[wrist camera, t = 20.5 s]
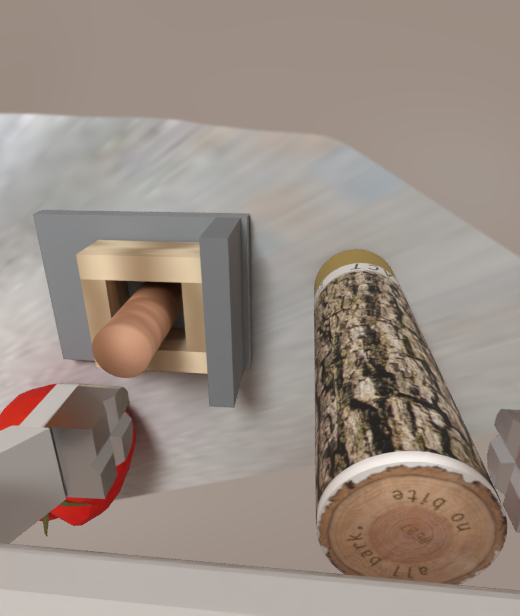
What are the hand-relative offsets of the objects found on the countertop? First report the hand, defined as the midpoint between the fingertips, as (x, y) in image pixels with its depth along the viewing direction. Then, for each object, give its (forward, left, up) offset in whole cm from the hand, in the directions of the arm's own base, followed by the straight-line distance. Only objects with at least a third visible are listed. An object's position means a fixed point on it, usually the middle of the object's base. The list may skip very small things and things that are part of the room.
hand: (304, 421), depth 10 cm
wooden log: (-4, +8, -29) cm, 31 cm away
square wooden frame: (+12, +9, -27) cm, 31 cm away
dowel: (+12, +9, -28) cm, 32 cm away
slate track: (+14, +9, -29) cm, 33 cm away
